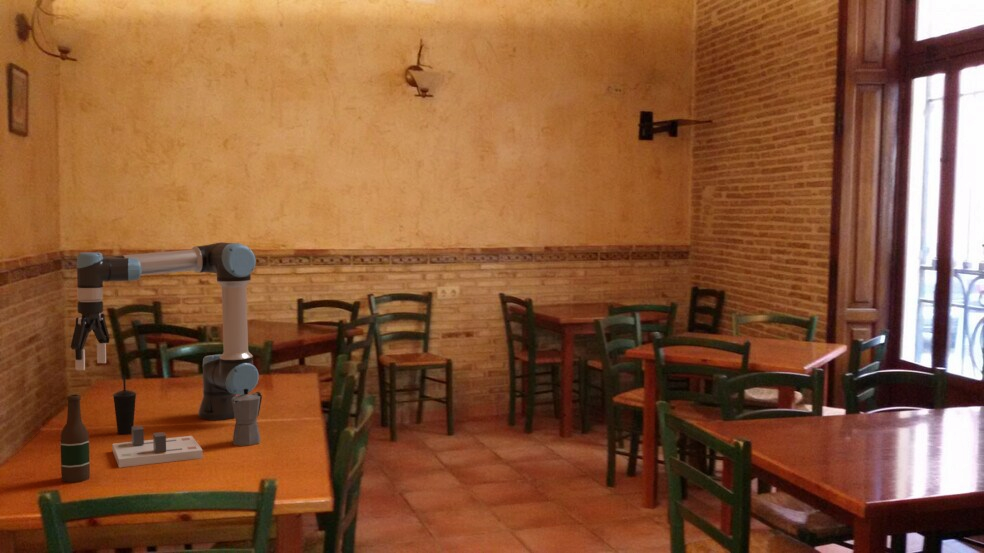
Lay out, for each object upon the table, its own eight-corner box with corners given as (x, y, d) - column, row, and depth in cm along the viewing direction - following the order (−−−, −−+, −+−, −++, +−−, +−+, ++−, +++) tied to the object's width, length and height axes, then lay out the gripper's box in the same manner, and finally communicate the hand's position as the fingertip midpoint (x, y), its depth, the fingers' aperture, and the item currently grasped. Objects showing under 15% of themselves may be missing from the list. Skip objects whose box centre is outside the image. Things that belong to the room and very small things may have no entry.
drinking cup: (128, 436, 304) (127, 377, 302) (108, 434, 305) (107, 376, 304) (142, 431, 311) (140, 373, 310) (122, 429, 313) (120, 372, 311)
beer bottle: (66, 475, 258) (64, 392, 257) (94, 474, 259) (92, 392, 257) (55, 483, 251) (53, 398, 249) (84, 483, 251) (82, 398, 250)
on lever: (141, 441, 287) (141, 425, 286) (143, 444, 282) (143, 428, 282) (131, 442, 285) (131, 426, 285) (133, 445, 281) (133, 429, 280)
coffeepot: (247, 448, 289) (247, 393, 288) (222, 446, 292) (221, 391, 291) (273, 437, 304) (272, 384, 302) (249, 435, 307) (248, 383, 305)
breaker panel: (191, 443, 295) (191, 435, 295) (202, 458, 278) (202, 449, 277) (112, 451, 284) (112, 443, 284) (118, 467, 266) (118, 458, 266)
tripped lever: (163, 448, 278) (163, 432, 278) (166, 451, 274) (165, 435, 273) (153, 449, 277) (153, 433, 277) (155, 453, 272) (155, 436, 272)
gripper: (98, 297, 301) (99, 360, 303) (57, 304, 276) (58, 372, 278) (120, 297, 301) (120, 360, 302) (81, 304, 276) (82, 373, 277)
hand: (91, 366), depth 290 cm, fingers open, 13 cm apart
